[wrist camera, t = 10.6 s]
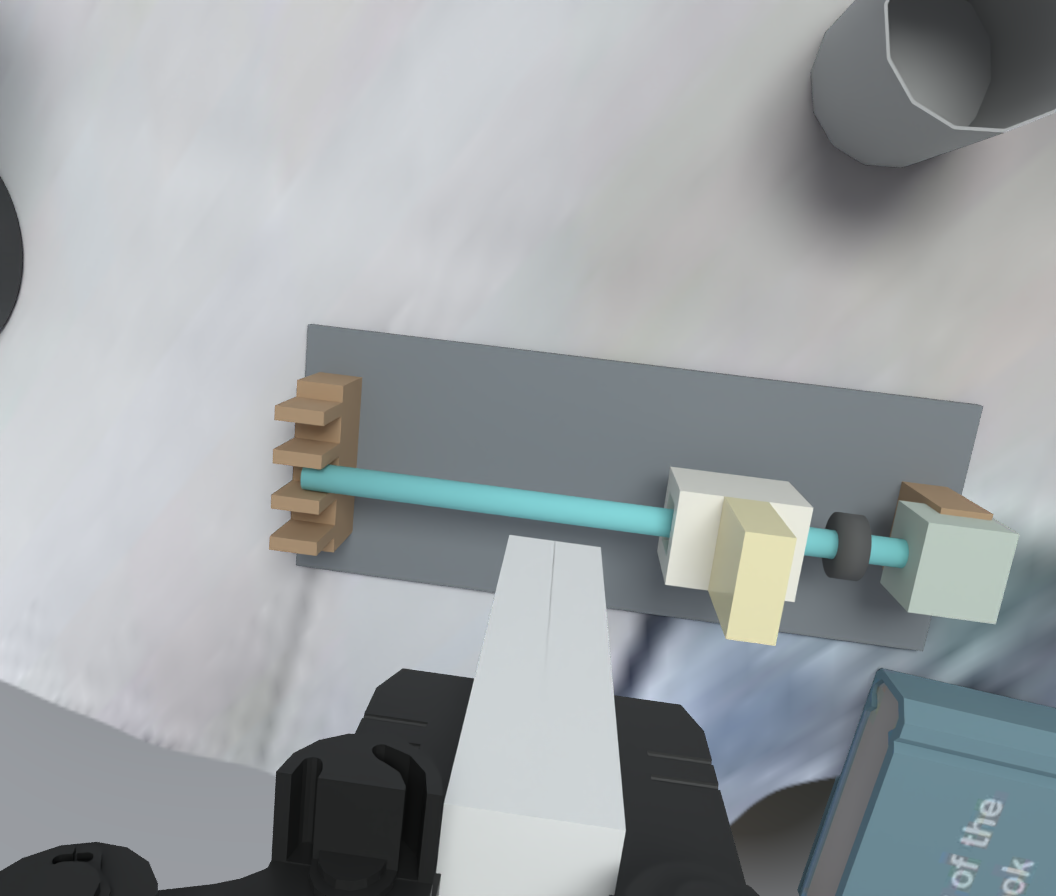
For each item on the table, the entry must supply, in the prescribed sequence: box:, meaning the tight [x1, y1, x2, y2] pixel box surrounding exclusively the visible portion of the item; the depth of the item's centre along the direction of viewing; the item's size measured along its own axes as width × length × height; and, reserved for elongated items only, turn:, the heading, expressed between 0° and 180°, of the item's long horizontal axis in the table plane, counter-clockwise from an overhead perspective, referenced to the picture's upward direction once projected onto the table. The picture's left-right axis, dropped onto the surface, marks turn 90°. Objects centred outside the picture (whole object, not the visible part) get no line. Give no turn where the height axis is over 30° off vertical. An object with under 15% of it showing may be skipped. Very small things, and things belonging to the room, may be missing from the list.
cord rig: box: [269, 324, 1019, 651], centre depth 40 cm, size 36×14×7 cm, turn 84°
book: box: [797, 668, 1056, 896], centre depth 45 cm, size 23×16×5 cm
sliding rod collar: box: [657, 467, 813, 646], centre depth 36 cm, size 6×5×10 cm
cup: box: [811, 0, 1056, 168], centre depth 34 cm, size 8×8×10 cm
